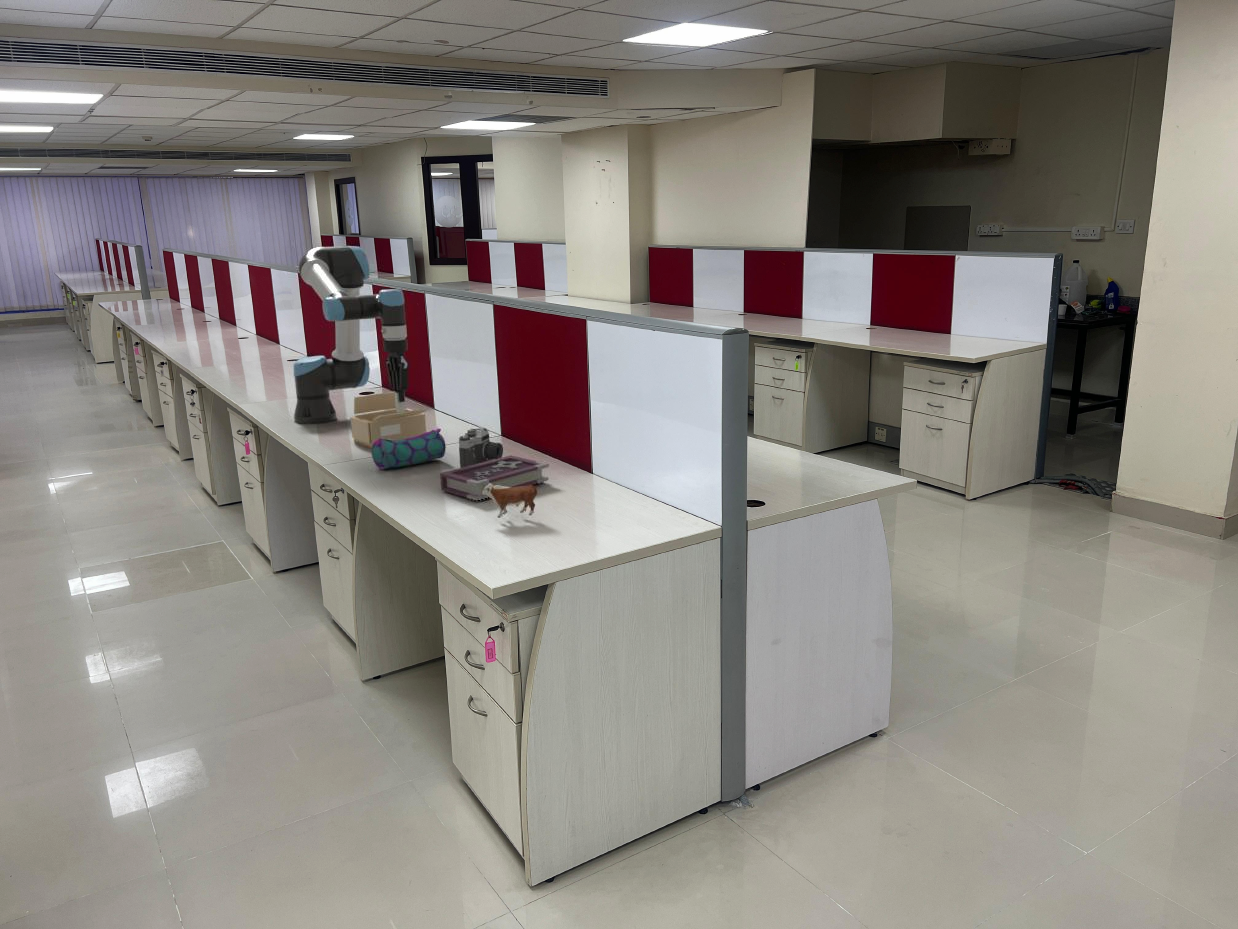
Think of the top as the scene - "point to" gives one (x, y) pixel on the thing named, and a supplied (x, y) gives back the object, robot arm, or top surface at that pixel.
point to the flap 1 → (374, 402)
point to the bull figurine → (511, 496)
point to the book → (492, 476)
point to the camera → (478, 447)
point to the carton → (386, 427)
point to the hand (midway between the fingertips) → (401, 411)
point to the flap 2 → (400, 414)
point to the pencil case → (408, 450)
